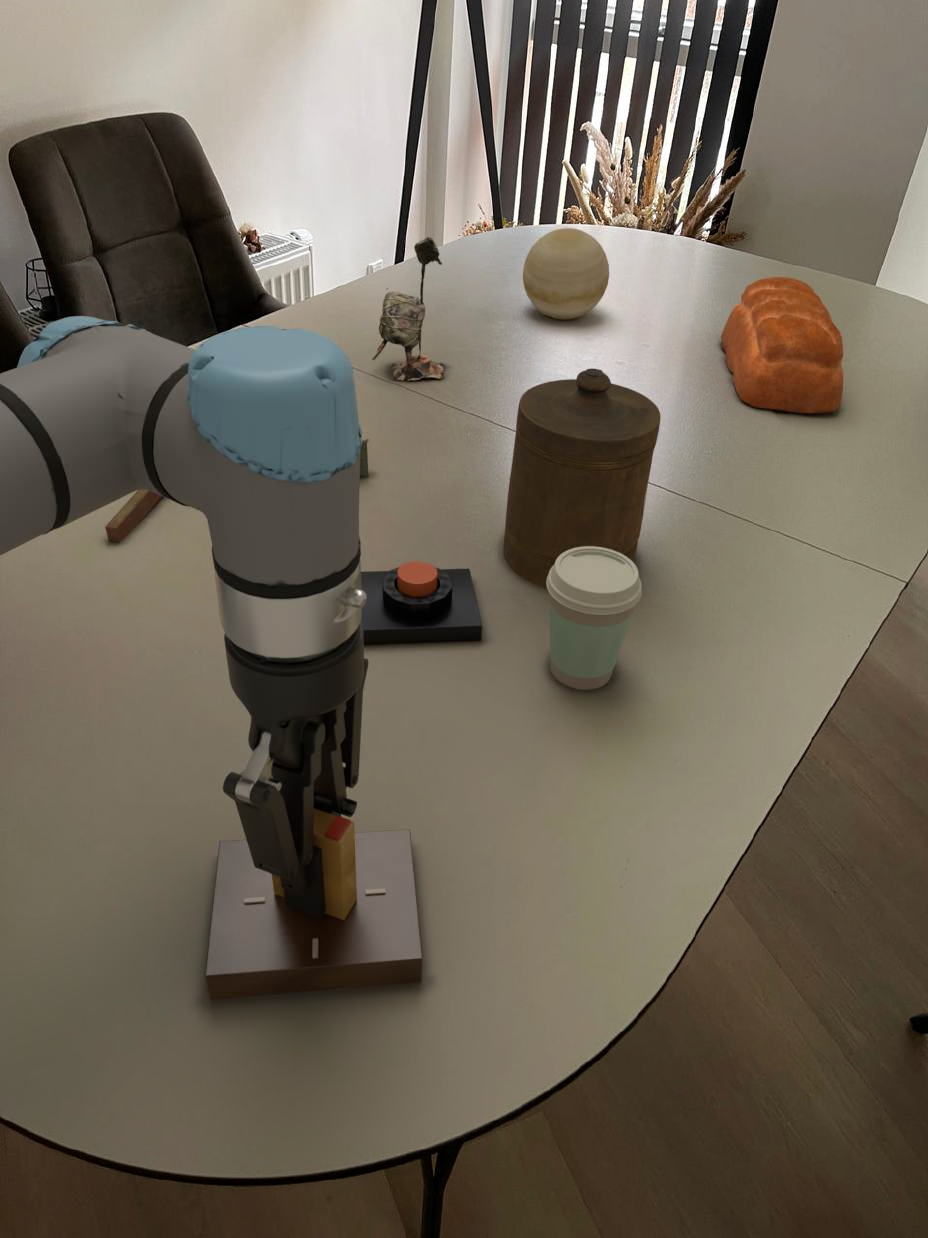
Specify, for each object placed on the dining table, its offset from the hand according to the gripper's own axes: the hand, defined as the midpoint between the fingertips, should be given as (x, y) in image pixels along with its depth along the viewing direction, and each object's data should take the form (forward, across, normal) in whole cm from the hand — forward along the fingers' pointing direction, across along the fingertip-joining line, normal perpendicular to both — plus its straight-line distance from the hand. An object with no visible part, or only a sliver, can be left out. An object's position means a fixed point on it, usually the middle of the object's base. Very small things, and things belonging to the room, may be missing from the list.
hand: (315, 892), depth 66 cm
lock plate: (+3, 0, 0) cm, 3 cm away
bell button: (0, +36, +8) cm, 37 cm away
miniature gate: (+4, +50, +38) cm, 63 cm away
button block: (+3, +36, +8) cm, 38 cm away
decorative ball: (+4, +129, +21) cm, 130 cm away
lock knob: (0, 0, 0) cm, 0 cm away
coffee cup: (+4, +35, -10) cm, 36 cm away
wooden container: (+4, +54, -3) cm, 54 cm away
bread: (+4, +120, -18) cm, 121 cm away
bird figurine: (+4, +93, +35) cm, 99 cm away
